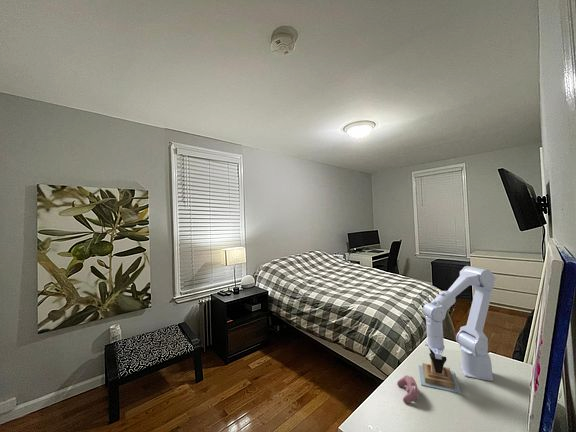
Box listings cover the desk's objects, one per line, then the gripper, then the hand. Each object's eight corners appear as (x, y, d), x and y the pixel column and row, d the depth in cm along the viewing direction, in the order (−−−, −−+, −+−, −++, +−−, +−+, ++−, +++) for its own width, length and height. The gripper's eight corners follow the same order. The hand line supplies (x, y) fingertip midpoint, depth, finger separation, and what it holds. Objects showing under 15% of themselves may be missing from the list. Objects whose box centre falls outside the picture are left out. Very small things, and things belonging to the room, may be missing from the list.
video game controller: (415, 409, 84) (423, 392, 84) (402, 402, 85) (410, 385, 85) (406, 389, 94) (414, 374, 93) (395, 383, 95) (403, 368, 94)
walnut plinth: (449, 372, 99) (449, 366, 99) (455, 389, 90) (454, 381, 90) (422, 367, 103) (422, 361, 103) (425, 382, 94) (424, 375, 94)
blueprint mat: (453, 372, 100) (453, 371, 100) (461, 393, 88) (460, 392, 88) (418, 365, 105) (418, 365, 105) (421, 385, 93) (421, 384, 93)
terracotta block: (442, 370, 98) (441, 356, 98) (443, 376, 94) (442, 361, 94) (431, 368, 99) (430, 354, 99) (432, 374, 96) (431, 359, 96)
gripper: (422, 324, 105) (424, 355, 105) (425, 340, 92) (428, 375, 92) (440, 327, 102) (442, 358, 102) (447, 344, 89) (449, 380, 89)
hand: (437, 366), depth 97 cm, fingers open, 7 cm apart
